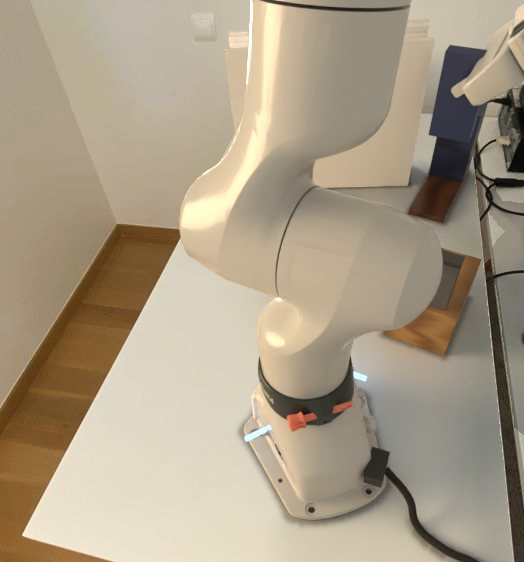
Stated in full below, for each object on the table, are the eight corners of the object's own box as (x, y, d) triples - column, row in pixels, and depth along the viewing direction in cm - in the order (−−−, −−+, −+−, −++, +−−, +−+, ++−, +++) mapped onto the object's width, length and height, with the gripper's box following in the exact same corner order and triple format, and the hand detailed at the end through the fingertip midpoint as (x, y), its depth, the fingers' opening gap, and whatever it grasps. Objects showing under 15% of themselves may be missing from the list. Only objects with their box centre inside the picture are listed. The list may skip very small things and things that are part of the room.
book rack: (468, 171, 106) (489, 101, 93) (443, 223, 97) (462, 153, 85) (435, 164, 108) (451, 94, 96) (407, 213, 99) (421, 144, 87)
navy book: (471, 136, 88) (495, 50, 77) (468, 143, 87) (491, 57, 75) (432, 128, 90) (449, 44, 79) (428, 135, 89) (445, 51, 78)
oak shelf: (467, 297, 85) (482, 258, 78) (443, 355, 79) (457, 319, 71) (410, 280, 89) (419, 241, 81) (383, 334, 82) (390, 297, 75)
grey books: (452, 293, 74) (465, 256, 68) (444, 311, 73) (457, 274, 66) (413, 281, 76) (422, 244, 70) (404, 298, 75) (413, 261, 68)
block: (241, 189, 108) (223, 51, 85) (245, 167, 112) (228, 30, 90) (407, 185, 104) (434, 39, 82) (404, 163, 109) (428, 19, 86)
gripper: (547, -20, 75) (464, 42, 86) (515, 39, 65) (427, 100, 76) (566, 18, 77) (483, 73, 88) (539, 80, 67) (450, 134, 78)
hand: (457, 86), depth 82 cm, fingers closed on navy book, 2 cm apart
